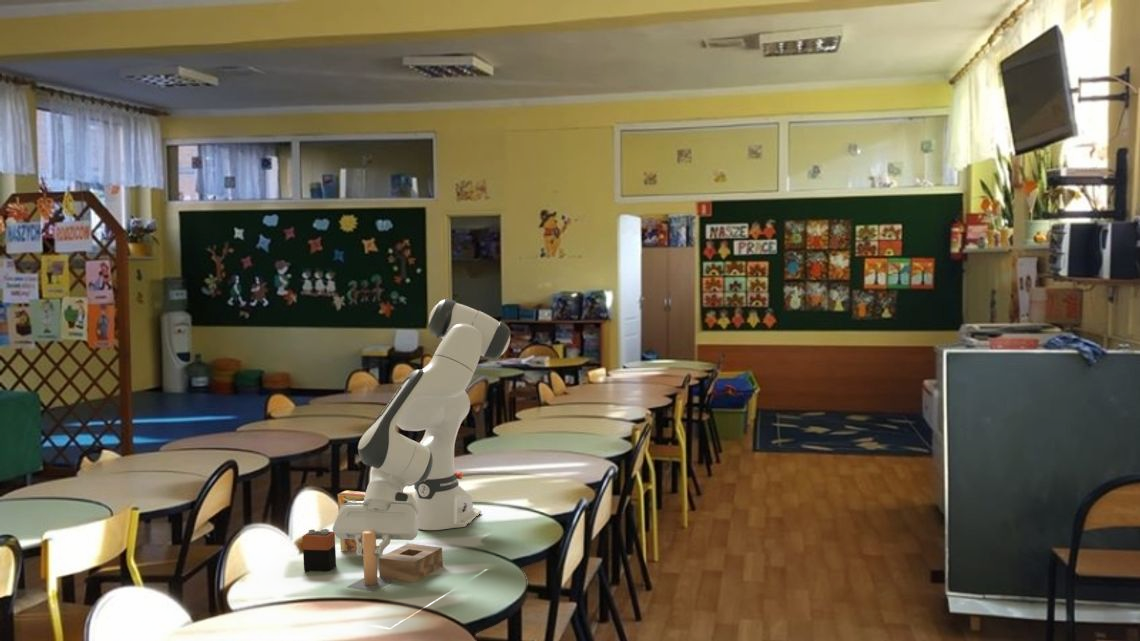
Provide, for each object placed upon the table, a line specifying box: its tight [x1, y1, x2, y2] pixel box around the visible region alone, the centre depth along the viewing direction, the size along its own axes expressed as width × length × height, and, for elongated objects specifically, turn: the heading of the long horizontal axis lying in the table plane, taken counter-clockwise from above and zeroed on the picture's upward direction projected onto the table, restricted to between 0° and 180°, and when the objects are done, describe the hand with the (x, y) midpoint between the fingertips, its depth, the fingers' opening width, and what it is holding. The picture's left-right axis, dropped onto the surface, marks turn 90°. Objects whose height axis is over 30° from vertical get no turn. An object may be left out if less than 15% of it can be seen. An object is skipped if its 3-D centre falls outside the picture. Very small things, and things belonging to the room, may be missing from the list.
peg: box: [362, 531, 378, 585], centre depth 215 cm, size 3×3×12 cm
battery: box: [302, 528, 337, 573], centre depth 227 cm, size 4×7×10 cm, turn 79°
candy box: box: [337, 490, 366, 552], centre depth 242 cm, size 9×4×15 cm, turn 67°
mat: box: [346, 576, 396, 592], centre depth 215 cm, size 8×8×1 cm
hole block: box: [378, 543, 444, 583], centre depth 223 cm, size 12×10×5 cm
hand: (368, 554), depth 214 cm, fingers closed on peg, 3 cm apart
